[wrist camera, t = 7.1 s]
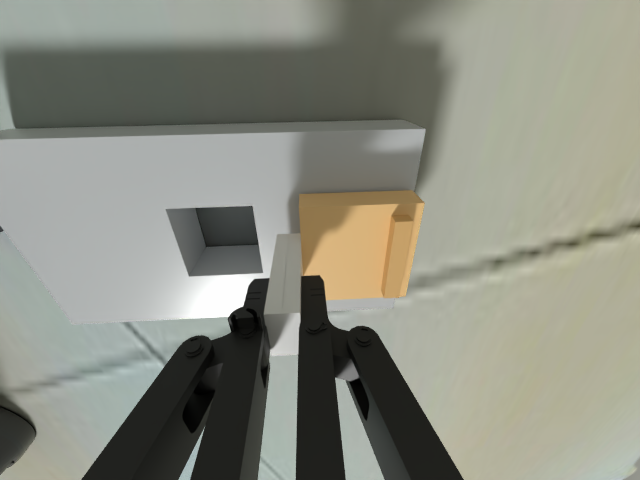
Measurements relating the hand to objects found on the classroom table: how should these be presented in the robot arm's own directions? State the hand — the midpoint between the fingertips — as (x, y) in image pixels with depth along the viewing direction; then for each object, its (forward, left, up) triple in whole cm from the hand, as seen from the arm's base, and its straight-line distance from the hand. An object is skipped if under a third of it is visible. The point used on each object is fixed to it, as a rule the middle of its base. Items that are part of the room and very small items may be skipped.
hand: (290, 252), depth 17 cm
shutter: (+4, 0, -1) cm, 4 cm away
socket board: (-5, 0, -5) cm, 7 cm away
